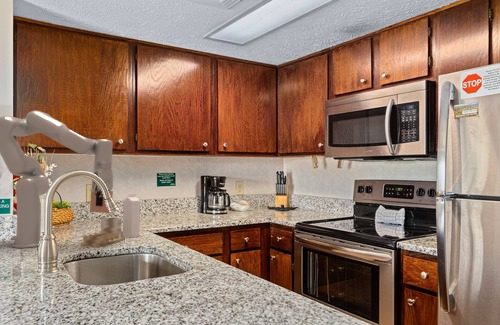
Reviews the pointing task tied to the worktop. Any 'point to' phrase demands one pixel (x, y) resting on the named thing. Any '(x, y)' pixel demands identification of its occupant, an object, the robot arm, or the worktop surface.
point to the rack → (106, 233)
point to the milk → (131, 216)
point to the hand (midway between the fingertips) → (100, 205)
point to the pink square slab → (98, 208)
